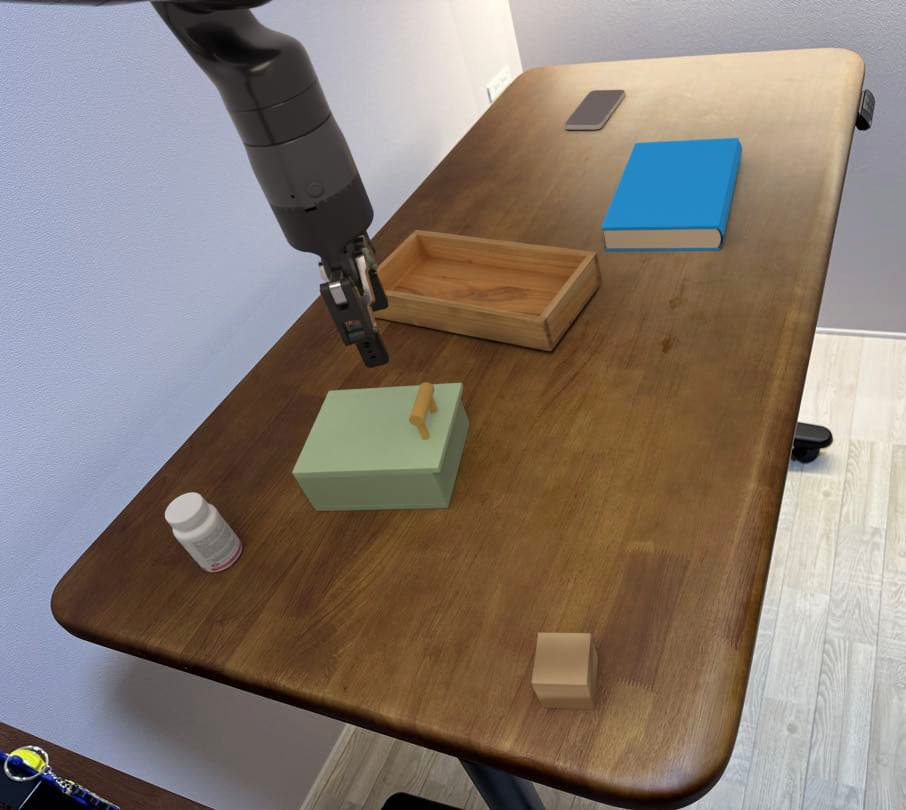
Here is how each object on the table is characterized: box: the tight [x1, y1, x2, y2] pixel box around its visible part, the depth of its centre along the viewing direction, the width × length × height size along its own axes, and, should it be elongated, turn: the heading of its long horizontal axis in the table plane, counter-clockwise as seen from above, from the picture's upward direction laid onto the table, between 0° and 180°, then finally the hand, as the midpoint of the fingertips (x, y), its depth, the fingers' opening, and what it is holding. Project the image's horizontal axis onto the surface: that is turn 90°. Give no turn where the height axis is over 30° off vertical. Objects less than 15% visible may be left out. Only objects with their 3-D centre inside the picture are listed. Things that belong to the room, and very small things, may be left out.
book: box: [600, 137, 743, 252], centre depth 117 cm, size 17×4×25 cm
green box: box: [294, 397, 471, 512], centre depth 88 cm, size 16×13×6 cm
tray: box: [357, 229, 602, 352], centre depth 107 cm, size 31×15×6 cm, turn 61°
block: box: [531, 632, 599, 711], centre depth 65 cm, size 4×4×4 cm
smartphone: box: [564, 89, 626, 130], centre depth 146 cm, size 7×1×15 cm
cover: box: [291, 381, 464, 478], centre depth 84 cm, size 16×13×5 cm
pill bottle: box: [164, 491, 243, 573], centre depth 82 cm, size 5×5×8 cm
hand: (378, 335), depth 73 cm, fingers open, 8 cm apart
